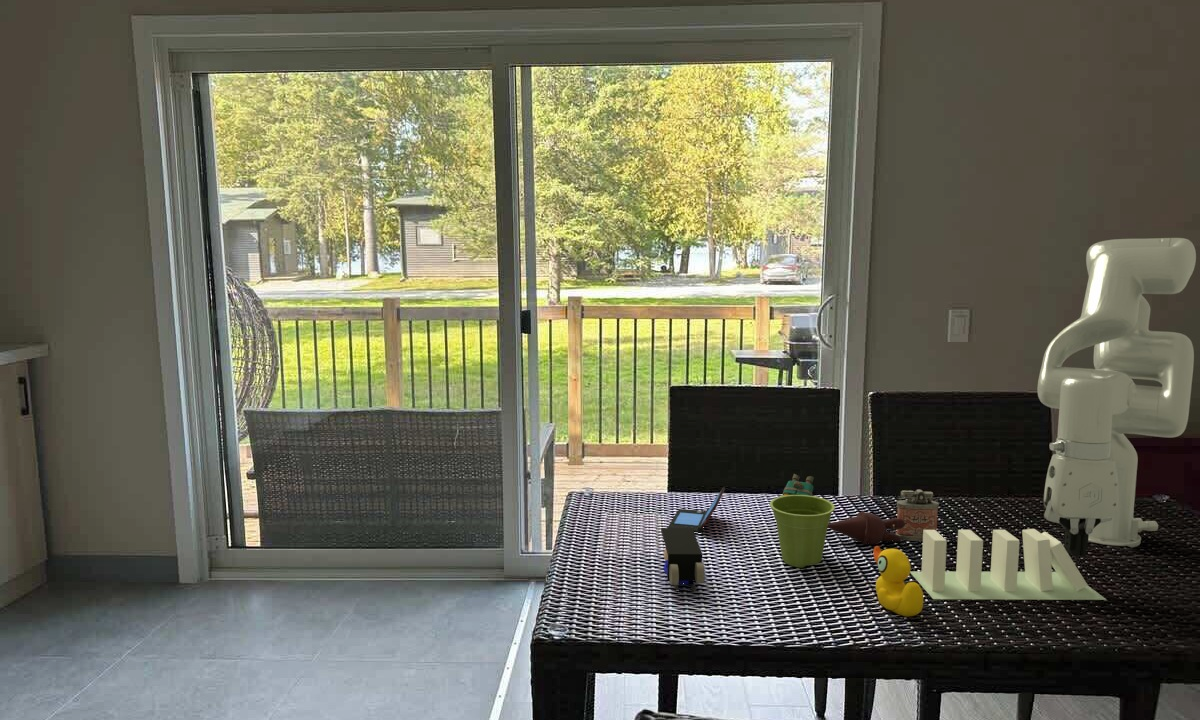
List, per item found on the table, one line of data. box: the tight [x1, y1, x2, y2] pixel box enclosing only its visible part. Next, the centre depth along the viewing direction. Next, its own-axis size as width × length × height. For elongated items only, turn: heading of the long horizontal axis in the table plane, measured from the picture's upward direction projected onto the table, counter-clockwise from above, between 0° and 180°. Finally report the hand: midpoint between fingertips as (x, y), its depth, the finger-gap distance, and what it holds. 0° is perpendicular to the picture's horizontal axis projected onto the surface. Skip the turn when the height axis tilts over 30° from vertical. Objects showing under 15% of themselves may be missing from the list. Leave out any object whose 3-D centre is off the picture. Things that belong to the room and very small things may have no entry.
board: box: [910, 570, 1107, 601], centre depth 130 cm, size 28×11×1 cm, turn 87°
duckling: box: [873, 545, 924, 618], centre depth 122 cm, size 11×5×10 cm, turn 15°
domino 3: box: [990, 529, 1020, 591], centre depth 129 cm, size 2×5×9 cm, turn 178°
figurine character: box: [660, 527, 706, 592], centre depth 136 cm, size 7×8×15 cm
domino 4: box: [1021, 528, 1053, 591], centre depth 129 cm, size 2×5×9 cm, turn 177°
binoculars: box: [781, 473, 814, 496], centre depth 165 cm, size 9×9×10 cm
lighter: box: [895, 489, 940, 542], centre depth 153 cm, size 8×3×10 cm, turn 84°
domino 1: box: [921, 530, 948, 591], centre depth 129 cm, size 2×5×9 cm, turn 178°
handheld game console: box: [667, 486, 726, 533], centre depth 163 cm, size 12×11×7 cm
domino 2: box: [955, 529, 984, 591], centre depth 129 cm, size 2×5×9 cm, turn 177°
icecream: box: [827, 510, 905, 546], centre depth 150 cm, size 7×8×15 cm
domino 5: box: [1040, 531, 1089, 591], centre depth 128 cm, size 2×5×9 cm
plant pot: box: [769, 495, 836, 569], centre depth 142 cm, size 12×12×11 cm
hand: (1075, 553), depth 128 cm, fingers closed
